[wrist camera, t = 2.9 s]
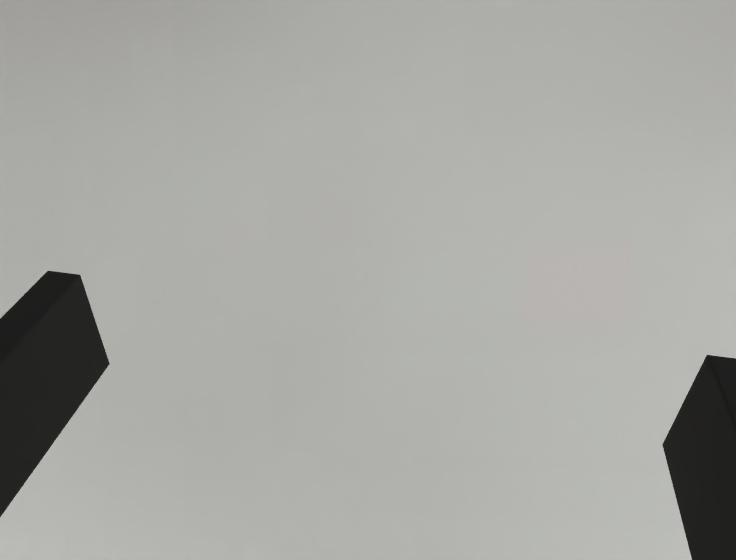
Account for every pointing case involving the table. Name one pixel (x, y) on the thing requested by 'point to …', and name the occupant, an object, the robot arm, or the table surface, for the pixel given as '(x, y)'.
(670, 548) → the table surface
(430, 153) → the table surface
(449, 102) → the table surface
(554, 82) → the table surface
